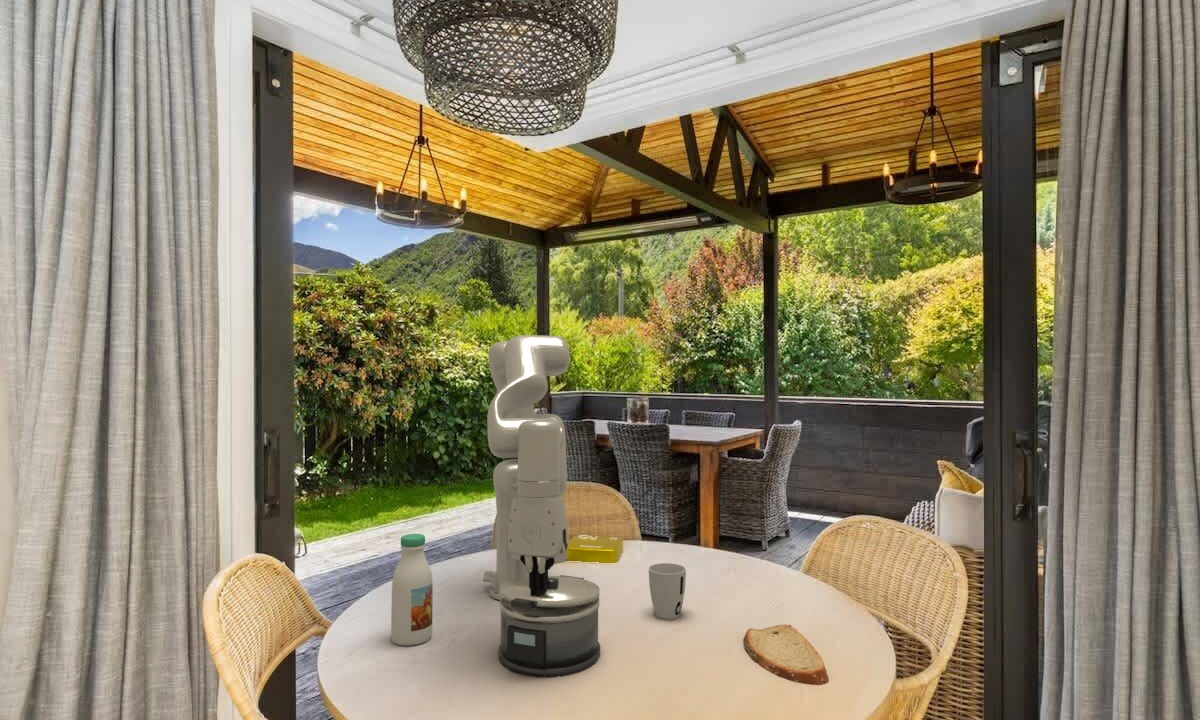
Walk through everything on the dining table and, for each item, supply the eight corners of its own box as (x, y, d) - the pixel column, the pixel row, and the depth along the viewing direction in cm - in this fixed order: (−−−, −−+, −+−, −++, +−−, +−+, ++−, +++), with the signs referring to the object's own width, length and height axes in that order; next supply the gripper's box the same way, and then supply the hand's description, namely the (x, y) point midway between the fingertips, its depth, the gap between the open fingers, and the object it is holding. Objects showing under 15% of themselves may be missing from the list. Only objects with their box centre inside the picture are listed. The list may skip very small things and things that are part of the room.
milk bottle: (394, 650, 119) (396, 542, 120) (388, 635, 126) (389, 533, 127) (436, 642, 123) (437, 538, 123) (427, 628, 130) (428, 529, 130)
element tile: (563, 563, 177) (563, 546, 178) (574, 549, 192) (574, 533, 192) (616, 566, 175) (616, 548, 175) (623, 551, 190) (623, 535, 190)
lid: (474, 601, 111) (475, 586, 112) (531, 576, 131) (532, 563, 131) (570, 616, 104) (571, 599, 105) (615, 587, 124) (615, 574, 125)
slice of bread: (823, 691, 105) (823, 668, 105) (721, 663, 115) (721, 642, 115) (849, 652, 120) (848, 632, 120) (756, 631, 130) (756, 612, 130)
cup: (684, 623, 133) (684, 575, 133) (646, 620, 134) (646, 572, 135) (687, 609, 141) (687, 564, 141) (650, 607, 142) (650, 561, 143)
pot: (477, 667, 112) (477, 609, 113) (535, 622, 133) (535, 574, 133) (574, 686, 105) (574, 625, 106) (619, 636, 126) (619, 585, 126)
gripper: (491, 490, 113) (491, 595, 112) (568, 494, 108) (568, 605, 107) (512, 484, 120) (512, 583, 119) (585, 488, 115) (585, 592, 114)
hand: (538, 593), depth 113 cm, fingers closed
